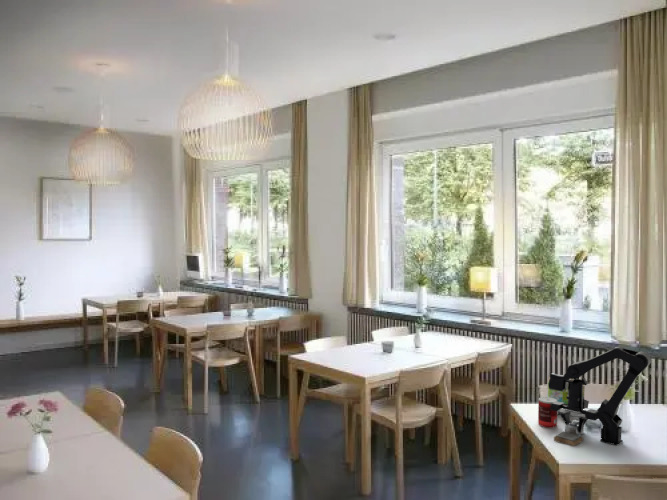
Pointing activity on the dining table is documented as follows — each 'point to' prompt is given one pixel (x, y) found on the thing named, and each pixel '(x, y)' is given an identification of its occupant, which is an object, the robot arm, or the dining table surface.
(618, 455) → the dining table surface
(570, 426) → the housing
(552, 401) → the canned food
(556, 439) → the stand
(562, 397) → the tea box
